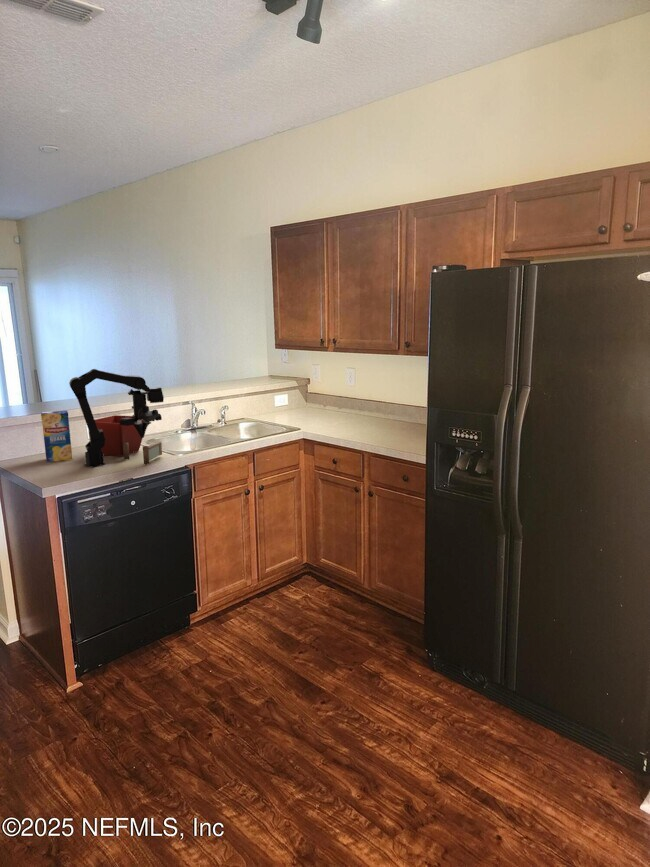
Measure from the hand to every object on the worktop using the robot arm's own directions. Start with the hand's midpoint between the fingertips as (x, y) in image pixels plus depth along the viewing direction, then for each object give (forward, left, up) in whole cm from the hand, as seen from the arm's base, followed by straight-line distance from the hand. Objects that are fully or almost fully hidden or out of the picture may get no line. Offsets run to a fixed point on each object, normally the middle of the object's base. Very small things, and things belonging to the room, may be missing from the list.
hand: (142, 437), depth 260 cm
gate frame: (-4, -1, -10) cm, 11 cm away
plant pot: (+1, +20, -11) cm, 23 cm away
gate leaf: (+2, -5, -9) cm, 10 cm away
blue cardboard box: (-23, +32, -11) cm, 41 cm away
